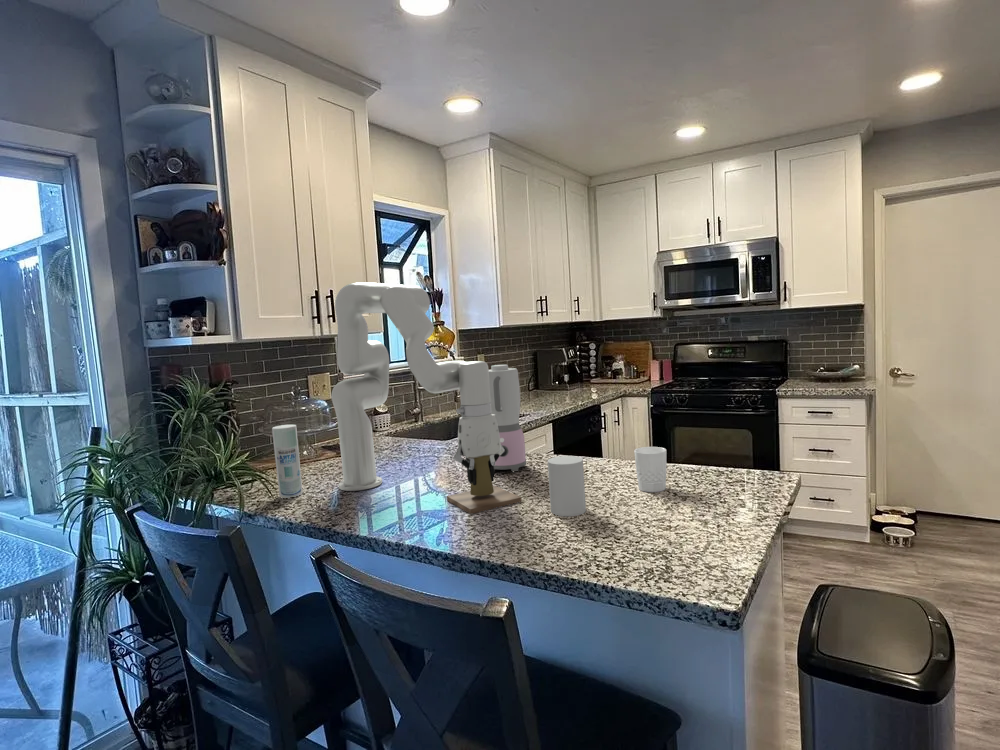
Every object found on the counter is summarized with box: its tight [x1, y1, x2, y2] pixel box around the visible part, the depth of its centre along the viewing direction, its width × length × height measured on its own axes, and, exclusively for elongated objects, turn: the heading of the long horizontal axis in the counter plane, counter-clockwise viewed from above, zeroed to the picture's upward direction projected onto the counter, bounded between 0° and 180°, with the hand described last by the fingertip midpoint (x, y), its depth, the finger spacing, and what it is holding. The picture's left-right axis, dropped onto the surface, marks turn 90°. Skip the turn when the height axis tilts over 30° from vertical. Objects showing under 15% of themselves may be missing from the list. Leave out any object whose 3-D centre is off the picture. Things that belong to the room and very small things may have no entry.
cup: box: [547, 455, 587, 517], centre depth 133 cm, size 8×8×12 cm
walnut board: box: [446, 485, 522, 515], centre depth 145 cm, size 14×14×1 cm
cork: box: [469, 455, 494, 496], centre depth 145 cm, size 6×6×11 cm
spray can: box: [271, 424, 304, 499], centre depth 164 cm, size 6×6×20 cm
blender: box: [489, 364, 527, 473], centre depth 175 cm, size 16×12×32 cm
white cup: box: [633, 446, 667, 493], centre depth 146 cm, size 8×8×10 cm
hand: (481, 481), depth 145 cm, fingers closed on cork, 4 cm apart
